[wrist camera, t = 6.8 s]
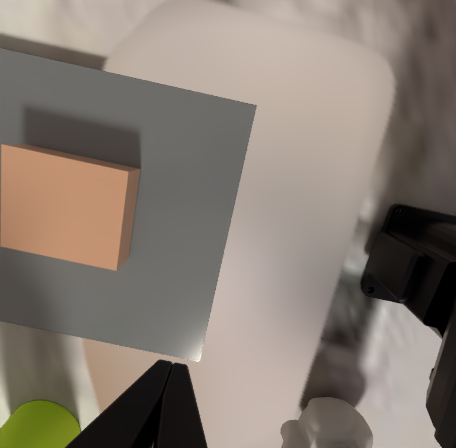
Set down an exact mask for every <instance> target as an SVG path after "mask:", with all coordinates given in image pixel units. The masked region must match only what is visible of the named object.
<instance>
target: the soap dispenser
mask: <svg viewBox="0 0 456 448" xmlns="http://www.w3.org/2000/svg"><path fill="white" fill-rule="evenodd" d="M80 433H81V432H80V427H79V424H78V422H77V420H76V419H75V417H74V416H73V415H72V414H71V413H70V412H69V411H68V410H67V409H65V408H64V407H62V406H60V405H58V404H56V403H53V402H49V401H41V400H37V401H30V402H27V403H25V404H23V405H21V406H20V407H18V408H17V409H16V411H15V412H14V413H13V414H12V415H11V417H10V418H9V419H8V420H7V421H6V422H5V424H4V425H3V426H2V427H1V428H0V448H65V447H66V446H67V445H68V444H69V443H70V442H71V441H72V440H73V439H74V438H75V437H76V436H77V435H79V434H80Z"/></svg>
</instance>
